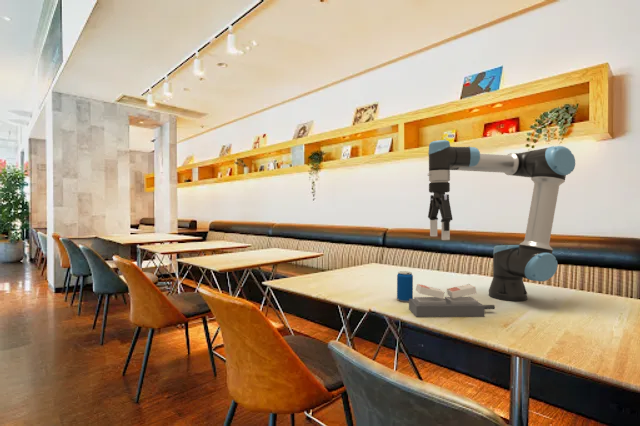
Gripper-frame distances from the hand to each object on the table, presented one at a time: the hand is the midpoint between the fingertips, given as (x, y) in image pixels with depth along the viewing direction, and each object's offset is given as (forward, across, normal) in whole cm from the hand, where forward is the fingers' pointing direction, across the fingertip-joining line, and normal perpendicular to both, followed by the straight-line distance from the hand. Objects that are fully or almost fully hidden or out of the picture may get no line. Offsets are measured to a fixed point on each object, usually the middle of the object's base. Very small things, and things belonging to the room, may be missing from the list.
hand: (439, 238), depth 134 cm
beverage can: (+28, -15, -10) cm, 34 cm away
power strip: (+28, +2, +5) cm, 29 cm away
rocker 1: (+21, +2, -5) cm, 22 cm away
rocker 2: (+21, +1, +8) cm, 23 cm away
